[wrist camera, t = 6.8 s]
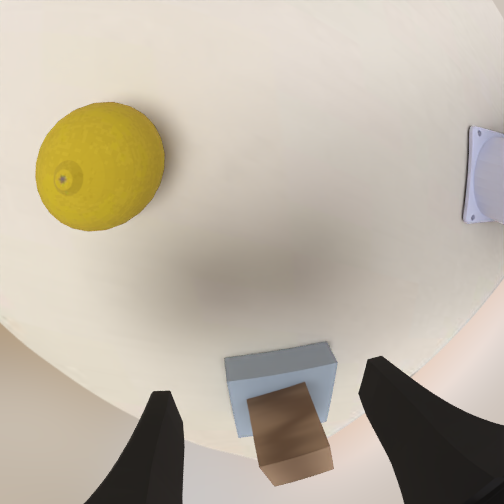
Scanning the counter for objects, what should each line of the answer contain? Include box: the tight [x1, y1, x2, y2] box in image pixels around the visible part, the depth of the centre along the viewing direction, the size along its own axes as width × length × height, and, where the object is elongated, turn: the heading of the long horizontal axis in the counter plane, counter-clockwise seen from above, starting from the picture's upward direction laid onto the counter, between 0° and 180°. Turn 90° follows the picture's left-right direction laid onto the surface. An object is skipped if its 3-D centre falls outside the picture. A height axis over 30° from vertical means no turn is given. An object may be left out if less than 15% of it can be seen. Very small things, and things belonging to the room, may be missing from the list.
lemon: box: [36, 102, 165, 231], centre depth 11 cm, size 6×6×8 cm
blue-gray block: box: [225, 341, 338, 438], centre depth 22 cm, size 8×8×3 cm
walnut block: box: [246, 382, 334, 486], centre depth 18 cm, size 4×4×6 cm
